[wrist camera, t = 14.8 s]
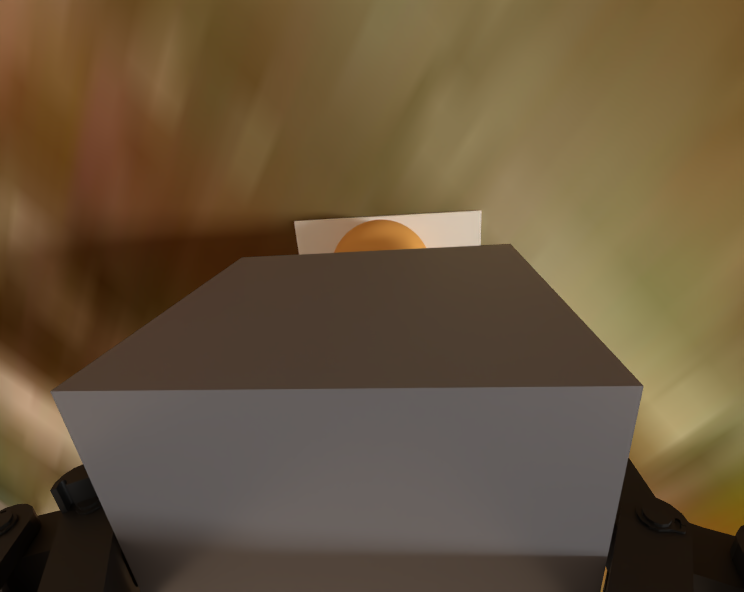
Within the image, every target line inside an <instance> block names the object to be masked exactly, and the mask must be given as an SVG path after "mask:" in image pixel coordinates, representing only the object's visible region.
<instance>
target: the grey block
mask: <svg viewBox="0 0 744 592" xmlns="http://www.w3.org/2000/svg"><path fill="white" fill-rule="evenodd" d="M642 391H643V385H642V384H641V383H640V382H639V381H638V380H637V379H636V377H635V376H634V375H633V374H632V373H631V372H630V371H629V370H628V369H627V368H626V367H625V366H624V365H623V364H622V363H621V361H620V360H619V359H618V358H617V357H616V356H615V355H614V354H613V353H612V352H611V351H610V350H609V349H608V348H607V347H606V345H605V344H604V343H603V342H602V341H601V340H600V339H599V338H598V337H597V336H596V335H595V334H594V333H593V332H592V330H591V329H590V328H589V327H588V326H587V325H586V324H585V323H584V322H583V321H582V320H581V319H580V318H579V317H578V316H577V314H576V313H575V312H574V311H573V310H572V309H571V308H570V307H569V306H568V305H567V304H566V303H565V302H564V301H563V300H562V298H561V297H560V296H559V295H558V294H557V293H556V292H555V291H554V290H553V289H552V288H551V287H550V286H549V285H548V283H547V282H546V281H545V280H544V279H543V278H542V277H541V276H540V275H539V274H538V273H537V272H536V271H535V270H534V269H533V267H532V266H531V265H530V264H529V263H528V262H527V261H526V260H525V259H524V258H523V257H522V256H521V255H520V254H519V253H518V251H517V250H516V249H515V248H514V247H513V246H512V245H511V244H499V245H479V246H459V247H439V248H419V249H399V250H379V251H359V252H339V253H319V254H300V255H280V256H260V257H242V258H240V259H239V260H237V261H236V262H235V263H233V264H232V265H230V266H229V267H227V268H226V269H225V270H223V271H222V272H220V273H219V274H217V275H216V276H215V277H213V278H212V279H210V280H209V281H207V282H206V283H205V284H203V285H202V286H200V287H199V288H197V289H196V290H195V291H193V292H192V293H190V294H189V295H187V296H186V297H185V298H183V299H182V300H180V301H179V302H177V303H176V304H175V305H173V306H172V307H170V308H169V309H167V310H166V311H165V312H163V313H162V314H160V315H159V316H157V317H156V318H155V319H153V320H152V321H150V322H149V323H147V324H146V325H145V326H143V327H142V328H140V329H139V330H137V331H136V332H135V333H133V334H132V335H130V336H129V337H127V338H126V339H125V340H123V341H122V342H120V343H119V344H117V345H116V346H115V347H113V348H112V349H110V350H109V351H107V352H106V353H105V354H103V355H102V356H100V357H99V358H97V359H96V360H95V361H93V362H92V363H90V364H89V365H87V366H86V367H84V368H83V369H82V370H80V371H79V372H77V373H76V374H74V375H73V376H72V377H70V378H69V379H67V380H66V381H64V382H63V383H62V384H60V385H59V386H57V387H56V388H54V389H53V390H52V391H50V392H51V394H52V396H53V398H54V401H55V403H56V405H57V407H58V409H59V412H60V414H61V416H62V418H63V421H64V423H65V425H66V427H67V429H68V432H69V434H70V436H71V438H72V440H73V443H74V445H75V447H76V449H77V452H78V454H79V456H80V458H81V460H82V463H83V465H84V467H85V469H86V471H87V474H88V476H89V478H90V480H91V483H92V485H93V487H94V489H95V491H96V494H97V496H98V498H99V500H100V502H101V505H102V507H103V509H104V511H105V514H106V516H107V518H108V520H109V522H110V525H111V527H112V529H113V531H114V533H115V536H116V538H117V540H118V542H119V545H120V547H121V549H122V551H123V553H124V556H125V558H126V560H127V562H128V564H129V567H130V569H131V571H132V573H133V576H134V578H135V580H136V582H137V584H138V587H139V589H140V591H141V592H600V590H601V585H602V580H603V576H604V571H605V566H606V561H607V557H608V552H609V547H610V542H611V538H612V533H613V528H614V523H615V519H616V514H617V509H618V504H619V500H620V495H621V490H622V485H623V481H624V476H625V471H626V466H627V462H628V457H629V452H630V447H631V443H632V438H633V433H634V428H635V424H636V419H637V414H638V409H639V405H640V400H641V395H642Z"/></svg>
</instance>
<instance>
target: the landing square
mask: <svg viewBox="0 0 744 592" xmlns="http://www.w3.org/2000/svg"><path fill="white" fill-rule="evenodd" d="M372 220H391V221H395V222H398V223H401V224H403V225H405V226H407V227H408V228H410V229H411V230H412V231H414V232H415V233H416V234H417V235H418V236H419V237H420V239H421V240H422V241H423V243H424V245H425V246H426V248H439V247H459V246H479V245H481V210H473V211H456V212H439V213H422V214H405V215H388V216H371V217H353V218H336V219H319V220H302V221H294V225H295V231H296V238H297V245H298V251H299V255H300V254H319V253H334V251H335V249H336V247H337V245H338V243H339V242H340V240H341V239H342V238H343V237H344V236H345V234H346V233H348V232H349V231H350V230H351V229H353V228H354V227H356V226H357V225H360V224H362V223H364V222H368V221H372Z"/></svg>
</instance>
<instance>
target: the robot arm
mask: <svg viewBox="0 0 744 592" xmlns="http://www.w3.org/2000/svg"><path fill="white" fill-rule="evenodd" d="M50 491H51V493H52V495H53V497H54V499H55V501H56V503H57V505H58V507H59V509H60V511H56V512H52V513H47V514H43V515H39V516H37V514H36V513H35V511H34V509H33V507H32V506H30V505H28V504H17V505H14V506H11V507H7V508H5V509H3V510H1V511H0V592H141V591H140V589H139V587H138V584H137V582H136V580H135V578H134V576H133V573H132V571H131V569H130V567H129V564H128V562H127V560H126V558H125V556H124V553H123V551H122V549H121V547H120V545H119V542H118V540H117V538H116V536H115V533H114V531H113V529H112V527H111V525H110V522H109V520H108V518H107V516H106V514H105V511H104V509H103V507H102V505H101V502H100V500H99V498H98V496H97V494H96V491H95V489H94V487H93V485H92V483H91V480H90V478H89V476H88V474H87V471H86V469H85V467H84V465H80V466H78V467H76V468H74V469H72V470H71V471H69V472H67V473H66V474H64V475H63V476H62V477H61V478H60V479H59V480H58V481H56V482H55V484H54V485H53V487H52V488H51V490H50ZM606 568H607V575H606V579H605V584H604V588H603V592H744V525H743V526H741V527H740V528H739V530H738V532H737V533H736V536H732V535H729V534H725V533H721V532H718V531H714V530H710V529H707V528H703V527H700V526H697V525H694V524H691V523H689V522H688V521H687V520H686V518H685V517H684V516H683V515H682V513H680V512H679V511H678V510H677V509H675V508H674V507H673V506H671V505H670V504H668V503H666V502H664V501H662V500H660V499H658V498H656V497H655V496H654V494H653V493H652V491H651V490H650V488H649V487H648V486H647V484H646V483H645V481H644V480H643V478H642V477H641V475H640V474H639V472H638V471H637V469H636V468H635V466H634V465H633V463H632V462H631V460H630V459H629V458H628V462H627V466H626V471H625V476H624V481H623V485H622V490H621V495H620V500H619V504H618V509H617V514H616V519H615V523H614V528H613V533H612V538H611V542H610V547H609V552H608V557H607V561H606Z"/></svg>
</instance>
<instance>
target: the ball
mask: <svg viewBox="0 0 744 592" xmlns="http://www.w3.org/2000/svg"><path fill="white" fill-rule="evenodd" d="M419 248H426V246H425V245H424V243H423V241H422V240H421V239H420V237H419V236H418V235H417V234H416V233H415V232H414V231H412V230H411V229H410V228H408V227H407V226H405V225H403V224H401V223H398V222H395V221H391V220H372V221H368V222H364V223H362V224H360V225H357V226H356V227H354V228H353V229H351V230H350V231H349V232H348V233H346V234H345V236H344V237H343V238H342V239H341V240H340V242H339V243H338V245H337V247H336V249H335V251H334V253H339V252H359V251H379V250H399V249H419Z"/></svg>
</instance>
